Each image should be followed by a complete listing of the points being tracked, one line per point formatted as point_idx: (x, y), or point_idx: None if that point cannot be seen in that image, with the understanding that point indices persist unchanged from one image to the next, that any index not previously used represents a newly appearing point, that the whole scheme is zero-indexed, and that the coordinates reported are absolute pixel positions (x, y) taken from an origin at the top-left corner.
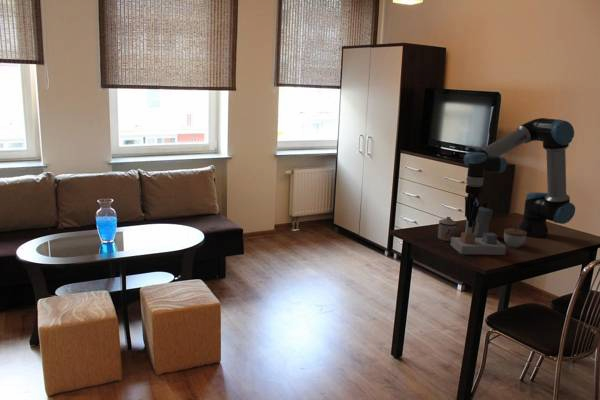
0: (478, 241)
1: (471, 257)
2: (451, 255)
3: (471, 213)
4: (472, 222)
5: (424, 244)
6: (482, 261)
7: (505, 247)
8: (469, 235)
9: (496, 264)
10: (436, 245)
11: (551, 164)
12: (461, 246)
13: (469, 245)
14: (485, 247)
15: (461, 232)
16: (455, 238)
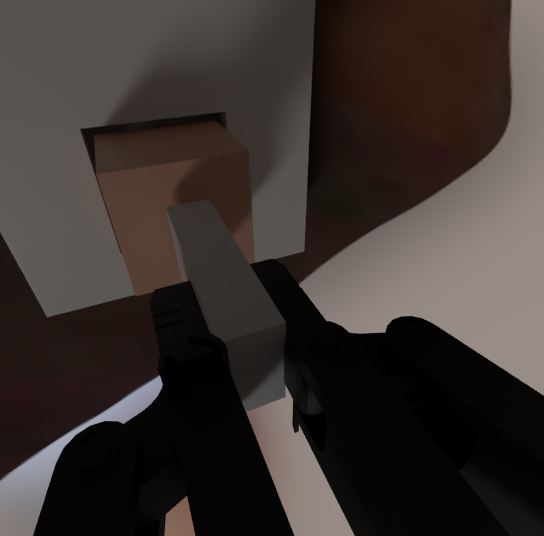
0: (119, 33)
1: (338, 165)
2: (301, 276)
3: (499, 517)
4: (316, 313)
5: (114, 404)
6: (412, 109)
7: None
8: (252, 225)
9: (479, 17)
10: (111, 351)
11: None
12: (289, 250)
13: (288, 192)
14: (308, 18)
15: (135, 294)
16: (82, 284)
